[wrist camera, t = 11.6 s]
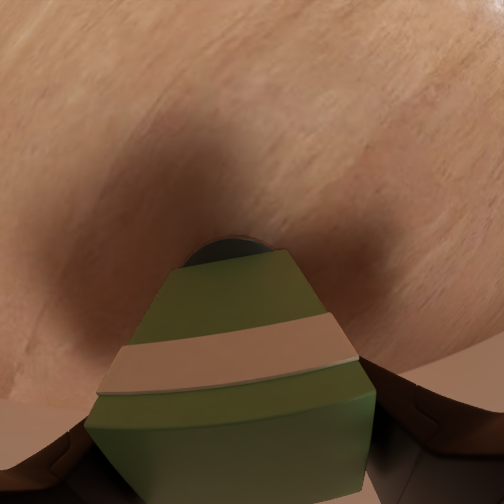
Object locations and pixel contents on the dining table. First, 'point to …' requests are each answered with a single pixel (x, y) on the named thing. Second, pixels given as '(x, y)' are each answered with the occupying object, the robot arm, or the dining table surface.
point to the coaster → (226, 249)
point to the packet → (237, 392)
